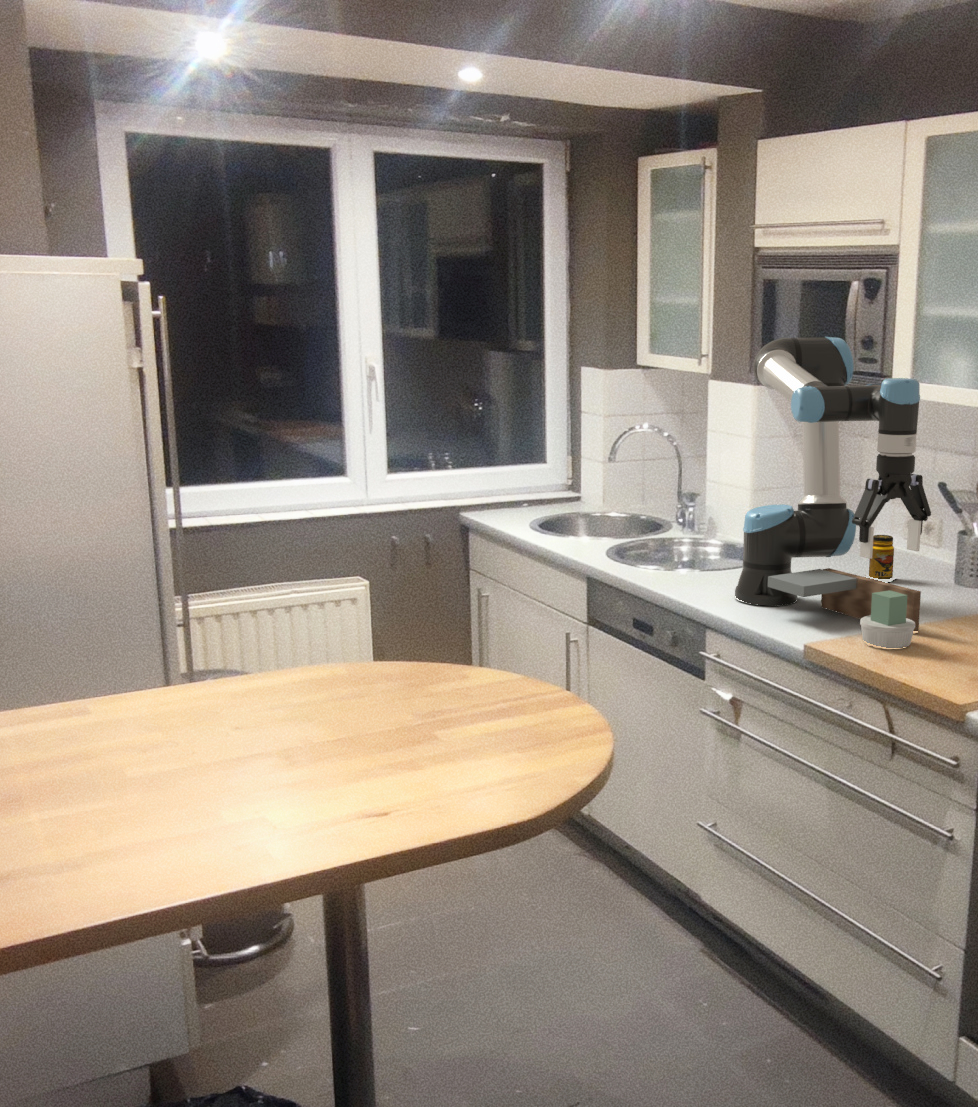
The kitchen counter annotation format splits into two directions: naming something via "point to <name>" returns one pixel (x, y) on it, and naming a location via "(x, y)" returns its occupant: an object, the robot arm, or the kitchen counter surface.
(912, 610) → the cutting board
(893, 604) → the block
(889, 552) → the condiment
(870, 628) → the ramekin
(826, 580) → the lid
